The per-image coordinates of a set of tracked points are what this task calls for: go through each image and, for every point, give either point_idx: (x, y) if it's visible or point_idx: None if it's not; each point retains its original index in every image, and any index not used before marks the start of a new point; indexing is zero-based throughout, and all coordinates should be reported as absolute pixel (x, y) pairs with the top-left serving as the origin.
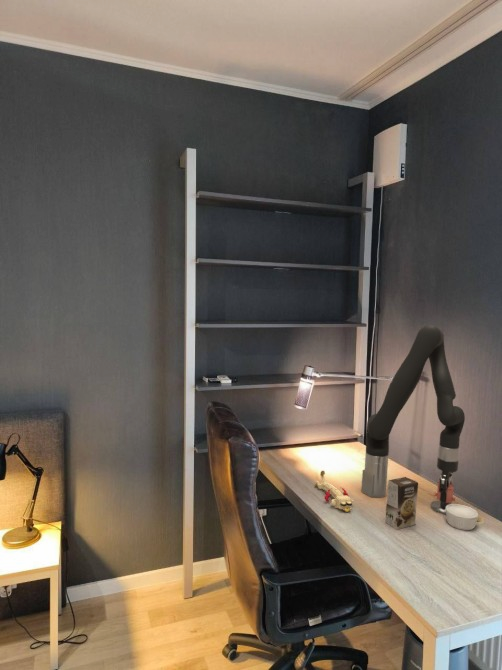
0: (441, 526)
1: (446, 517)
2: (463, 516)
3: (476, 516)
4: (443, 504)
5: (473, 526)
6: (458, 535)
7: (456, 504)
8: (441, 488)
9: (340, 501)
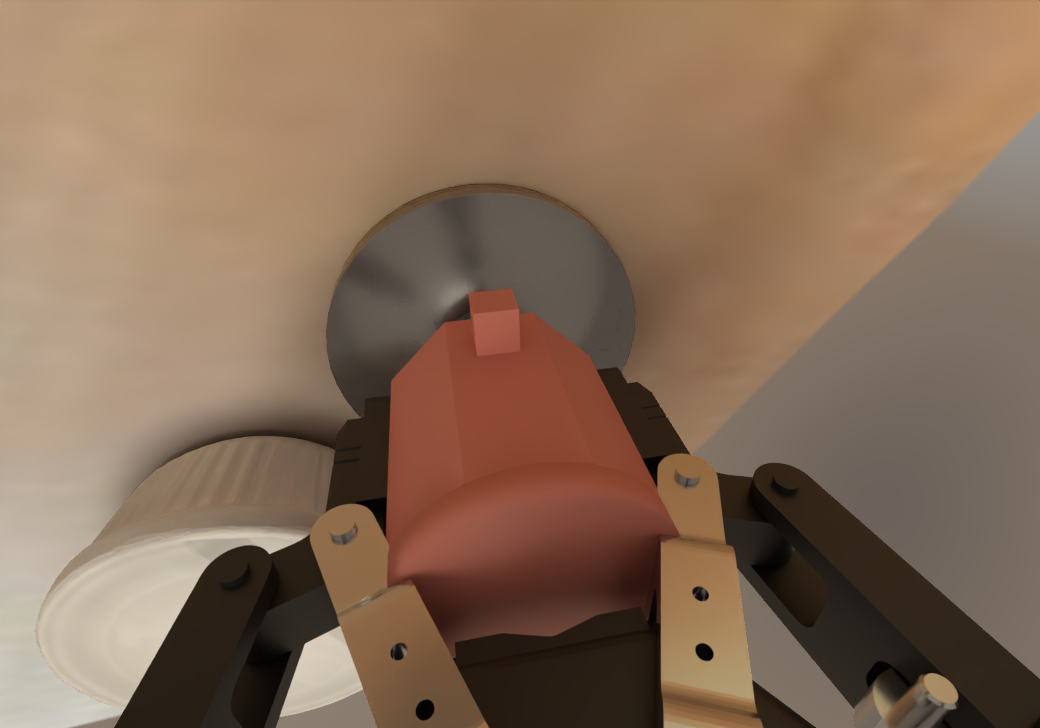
0: (22, 442)
1: (191, 459)
2: (110, 690)
3: None
4: None
5: None
6: (28, 570)
7: None
8: (325, 591)
9: None
